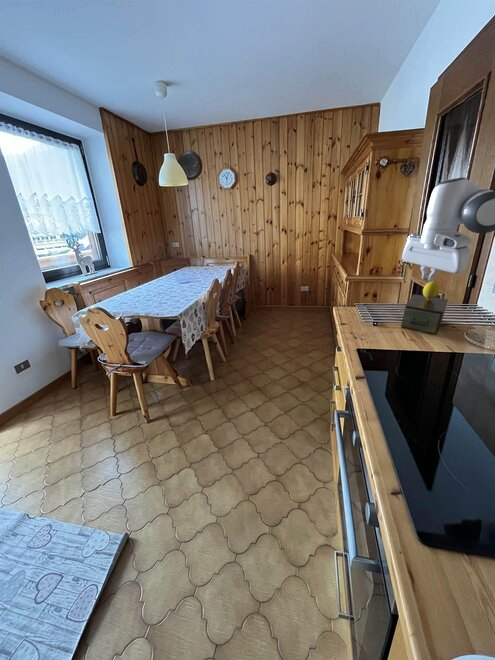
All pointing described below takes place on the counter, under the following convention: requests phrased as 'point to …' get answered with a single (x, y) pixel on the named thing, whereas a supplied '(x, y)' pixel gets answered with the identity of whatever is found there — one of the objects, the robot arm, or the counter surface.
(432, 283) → the lemon
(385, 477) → the counter surface
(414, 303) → the cabinet
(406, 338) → the counter surface
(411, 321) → the drawer
